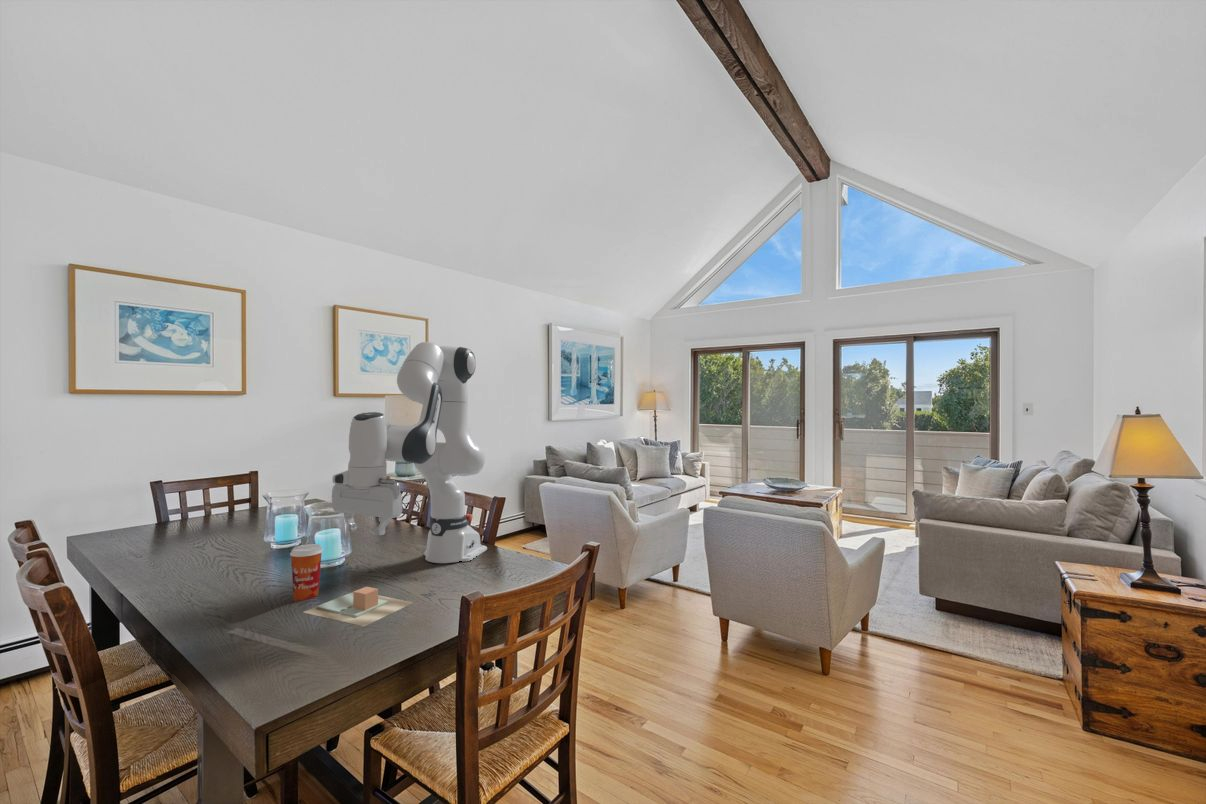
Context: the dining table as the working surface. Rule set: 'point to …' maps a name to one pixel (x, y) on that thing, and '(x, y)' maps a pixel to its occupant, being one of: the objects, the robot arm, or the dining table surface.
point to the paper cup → (306, 570)
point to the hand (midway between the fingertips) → (365, 532)
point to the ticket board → (345, 602)
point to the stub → (364, 602)
